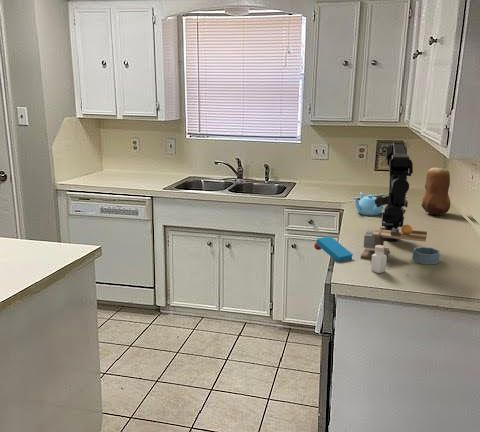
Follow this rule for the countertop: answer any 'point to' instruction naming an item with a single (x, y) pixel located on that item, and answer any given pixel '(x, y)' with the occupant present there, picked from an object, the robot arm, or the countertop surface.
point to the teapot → (367, 205)
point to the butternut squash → (437, 191)
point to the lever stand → (369, 251)
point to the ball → (406, 229)
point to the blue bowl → (426, 255)
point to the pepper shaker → (378, 260)
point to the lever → (333, 248)
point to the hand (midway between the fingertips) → (395, 228)
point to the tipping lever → (392, 236)
